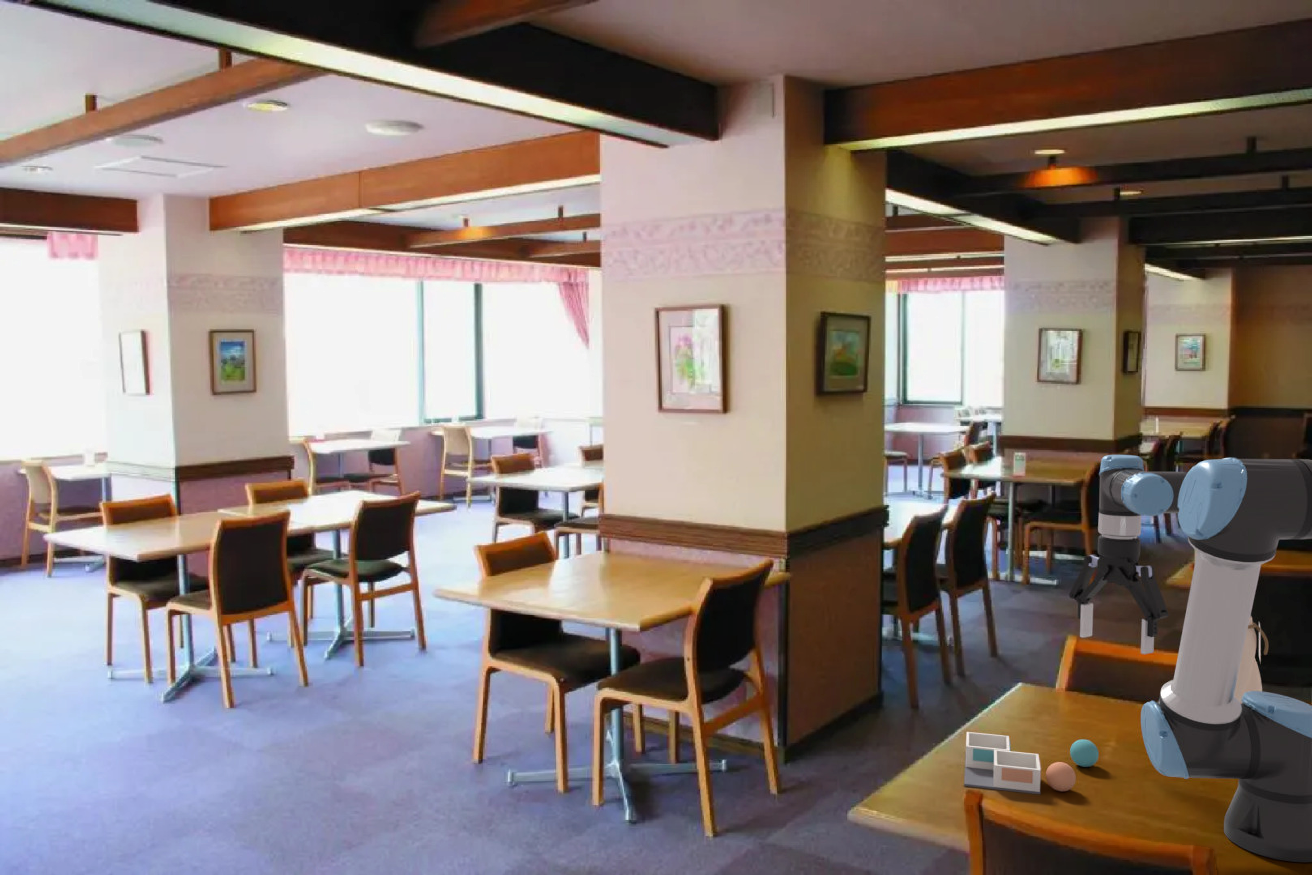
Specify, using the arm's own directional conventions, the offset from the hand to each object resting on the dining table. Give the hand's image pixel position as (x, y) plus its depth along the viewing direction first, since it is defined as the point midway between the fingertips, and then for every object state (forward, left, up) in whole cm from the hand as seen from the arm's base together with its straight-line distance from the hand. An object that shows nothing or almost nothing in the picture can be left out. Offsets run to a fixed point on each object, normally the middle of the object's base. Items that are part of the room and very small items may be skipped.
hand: (1115, 644), depth 209 cm
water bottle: (+9, -23, -22) cm, 33 cm away
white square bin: (-13, +23, -22) cm, 34 cm away
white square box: (-21, +18, -22) cm, 35 cm away
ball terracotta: (-22, +11, -19) cm, 31 cm away
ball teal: (-9, +6, -19) cm, 22 cm away
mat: (-17, +21, -22) cm, 34 cm away
